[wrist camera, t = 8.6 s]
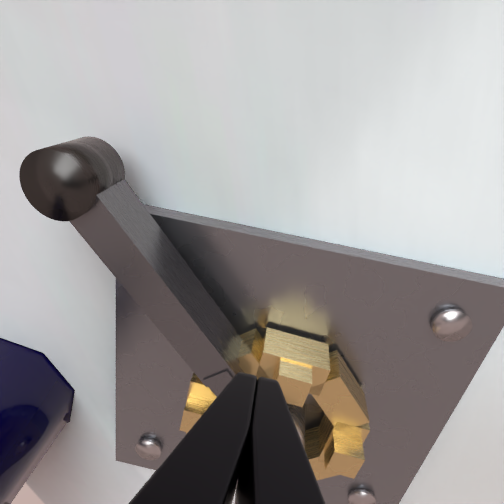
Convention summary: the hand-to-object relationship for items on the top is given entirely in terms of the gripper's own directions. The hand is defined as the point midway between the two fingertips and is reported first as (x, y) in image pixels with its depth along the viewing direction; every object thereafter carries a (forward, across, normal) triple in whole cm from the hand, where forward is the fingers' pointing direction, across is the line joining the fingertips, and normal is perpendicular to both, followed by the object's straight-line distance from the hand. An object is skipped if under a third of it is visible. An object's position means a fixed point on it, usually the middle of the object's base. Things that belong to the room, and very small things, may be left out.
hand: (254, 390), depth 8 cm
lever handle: (+11, +2, +7) cm, 13 cm away
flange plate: (+12, -2, +11) cm, 17 cm away
